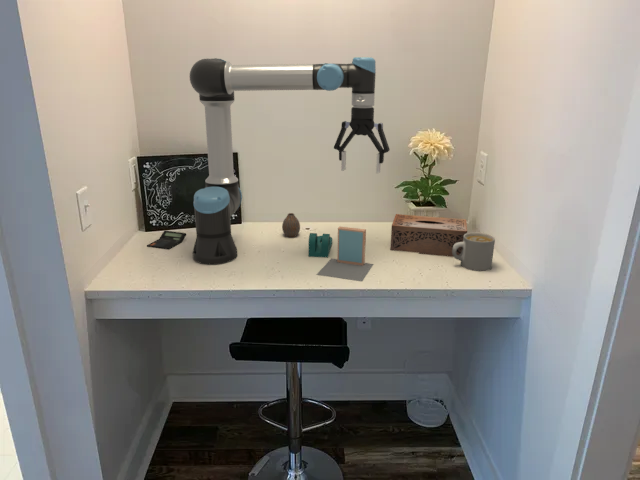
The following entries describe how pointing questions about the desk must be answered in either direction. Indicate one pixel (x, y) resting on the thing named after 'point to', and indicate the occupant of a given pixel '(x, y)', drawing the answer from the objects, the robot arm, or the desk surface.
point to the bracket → (319, 245)
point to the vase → (291, 225)
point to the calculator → (168, 240)
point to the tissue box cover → (427, 234)
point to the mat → (345, 270)
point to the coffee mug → (475, 251)
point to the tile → (351, 245)
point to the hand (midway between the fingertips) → (360, 171)
